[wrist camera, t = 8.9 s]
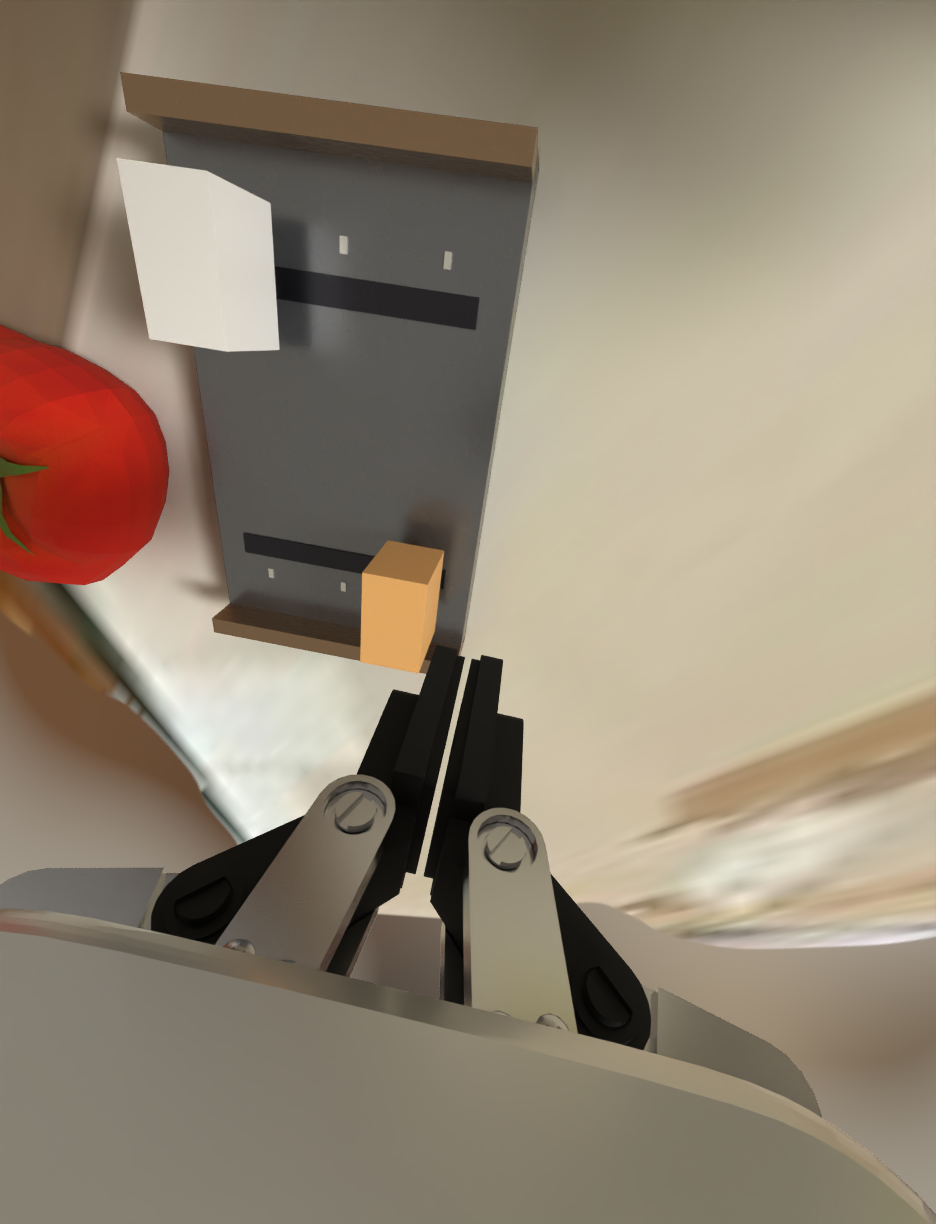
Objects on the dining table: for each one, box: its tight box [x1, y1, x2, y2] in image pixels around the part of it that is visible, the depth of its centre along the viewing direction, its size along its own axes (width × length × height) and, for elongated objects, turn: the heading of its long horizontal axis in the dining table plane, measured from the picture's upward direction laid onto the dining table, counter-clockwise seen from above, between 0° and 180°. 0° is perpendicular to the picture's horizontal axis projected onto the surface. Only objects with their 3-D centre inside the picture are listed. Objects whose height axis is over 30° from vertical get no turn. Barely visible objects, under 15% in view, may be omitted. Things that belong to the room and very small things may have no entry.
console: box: [120, 72, 539, 674], centre depth 24 cm, size 15×24×4 cm, turn 172°
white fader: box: [116, 158, 279, 352], centre depth 18 cm, size 3×5×5 cm, turn 172°
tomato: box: [0, 325, 169, 585], centre depth 25 cm, size 14×13×9 cm
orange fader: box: [360, 540, 444, 673], centre depth 25 cm, size 3×5×5 cm, turn 172°
